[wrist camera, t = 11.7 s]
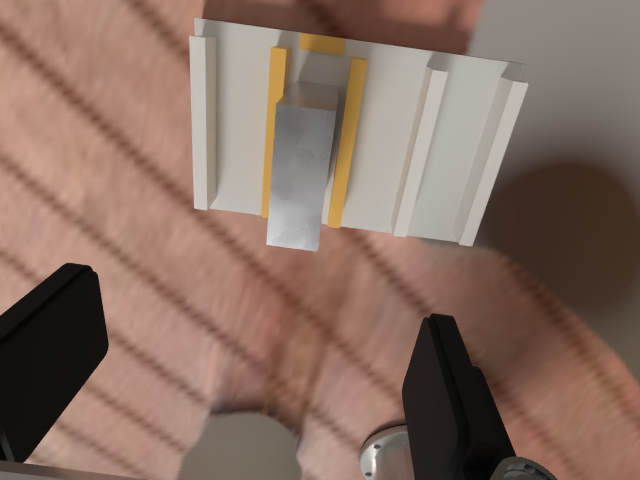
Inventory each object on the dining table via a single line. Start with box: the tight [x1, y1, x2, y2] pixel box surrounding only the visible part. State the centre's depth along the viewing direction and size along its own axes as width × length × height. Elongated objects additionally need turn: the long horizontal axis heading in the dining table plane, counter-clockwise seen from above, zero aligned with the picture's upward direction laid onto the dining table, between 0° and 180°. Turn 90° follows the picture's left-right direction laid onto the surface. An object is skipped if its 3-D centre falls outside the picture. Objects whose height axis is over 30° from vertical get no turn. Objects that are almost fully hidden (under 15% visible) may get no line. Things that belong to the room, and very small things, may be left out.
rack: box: [189, 18, 529, 246], centre depth 30 cm, size 14×23×4 cm, turn 83°
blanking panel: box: [267, 81, 339, 251], centre depth 26 cm, size 8×3×10 cm, turn 173°
